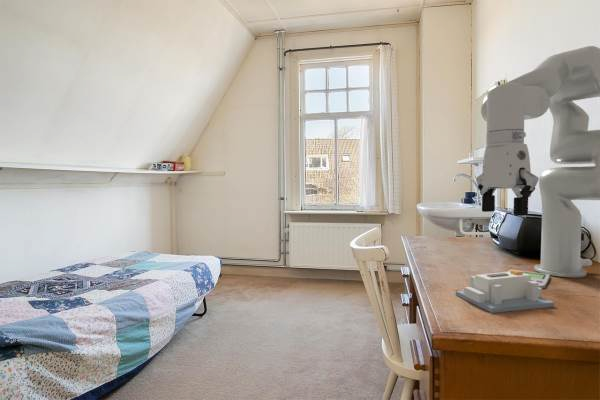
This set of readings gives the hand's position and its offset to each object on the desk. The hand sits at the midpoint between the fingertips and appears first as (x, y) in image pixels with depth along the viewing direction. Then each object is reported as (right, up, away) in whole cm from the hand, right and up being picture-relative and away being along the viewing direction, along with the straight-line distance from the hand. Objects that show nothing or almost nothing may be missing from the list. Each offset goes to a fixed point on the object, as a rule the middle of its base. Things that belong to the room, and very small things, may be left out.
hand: (503, 213), depth 82 cm
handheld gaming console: (+16, -20, +16) cm, 30 cm away
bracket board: (0, -20, 0) cm, 20 cm away
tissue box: (0, -19, 0) cm, 19 cm away
